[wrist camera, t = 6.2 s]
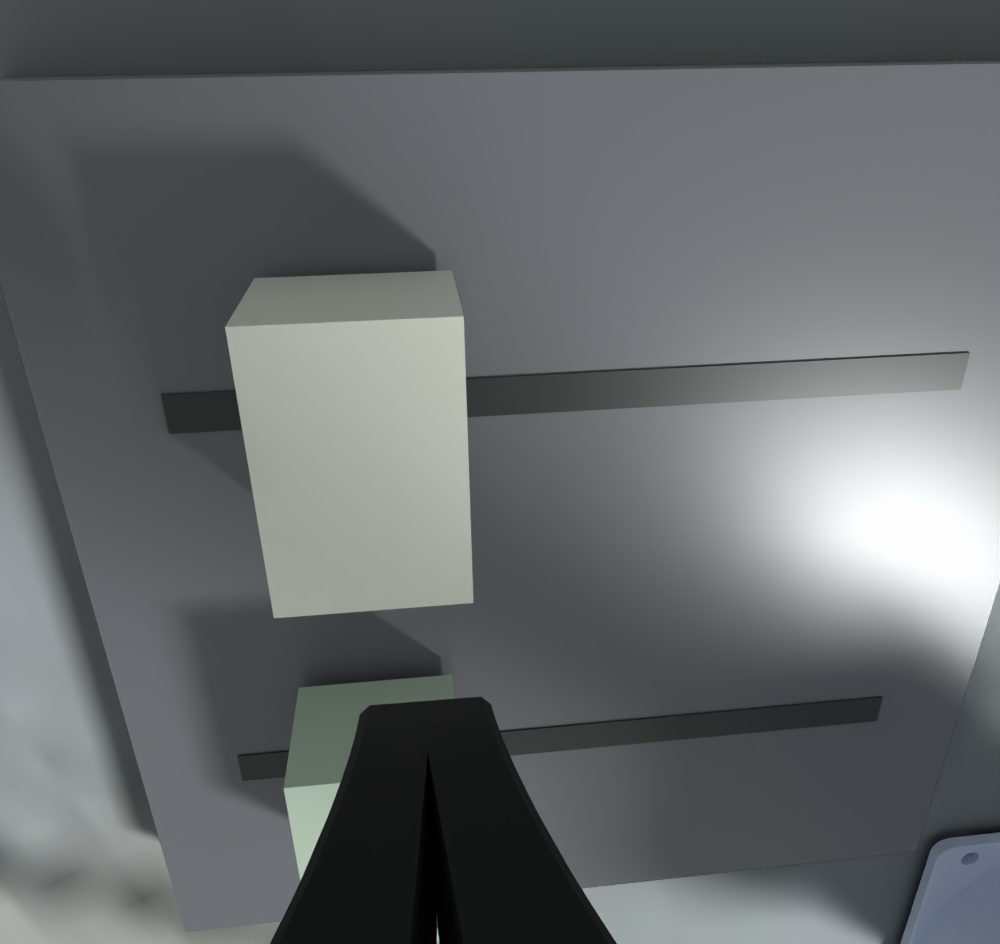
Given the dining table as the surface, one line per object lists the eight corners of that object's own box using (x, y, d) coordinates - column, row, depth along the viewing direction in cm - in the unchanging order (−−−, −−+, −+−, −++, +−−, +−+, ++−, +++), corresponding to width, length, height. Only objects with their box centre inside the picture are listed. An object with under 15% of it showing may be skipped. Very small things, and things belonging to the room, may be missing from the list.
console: (1070, 58, 15) (1163, 60, 13) (876, 789, 23) (916, 852, 21) (2, 77, 13) (-60, 82, 11) (203, 858, 21) (185, 933, 20)
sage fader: (452, 674, 17) (461, 771, 14) (460, 832, 19) (469, 938, 16) (298, 687, 16) (283, 788, 14) (323, 846, 18) (314, 955, 16)
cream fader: (451, 270, 13) (464, 315, 11) (462, 520, 15) (473, 603, 13) (254, 278, 13) (224, 326, 10) (291, 532, 15) (274, 618, 13)
